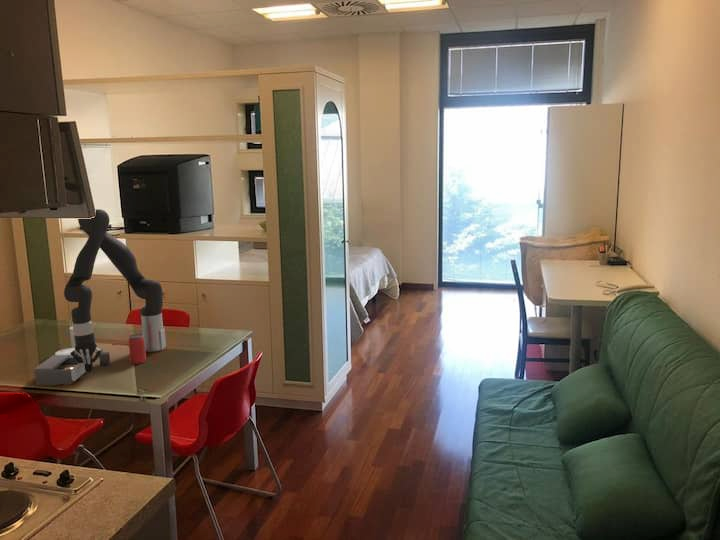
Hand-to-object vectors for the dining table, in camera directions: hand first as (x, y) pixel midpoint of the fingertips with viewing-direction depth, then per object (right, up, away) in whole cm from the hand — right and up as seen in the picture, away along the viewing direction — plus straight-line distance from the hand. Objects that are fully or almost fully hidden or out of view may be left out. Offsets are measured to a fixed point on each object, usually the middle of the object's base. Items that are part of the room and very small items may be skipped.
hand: (89, 371), depth 246 cm
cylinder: (0, +1, +14) cm, 14 cm away
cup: (-18, +4, +32) cm, 37 cm away
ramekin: (-17, +1, +18) cm, 24 cm away
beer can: (+14, +1, +17) cm, 22 cm away
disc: (-9, 0, 0) cm, 9 cm away
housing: (-11, -2, 0) cm, 11 cm away
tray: (-10, -1, 0) cm, 10 cm away
